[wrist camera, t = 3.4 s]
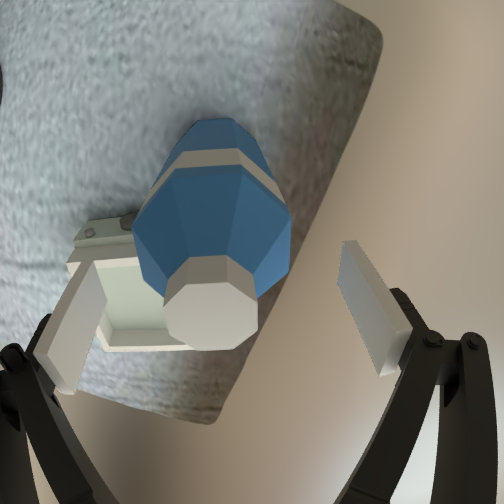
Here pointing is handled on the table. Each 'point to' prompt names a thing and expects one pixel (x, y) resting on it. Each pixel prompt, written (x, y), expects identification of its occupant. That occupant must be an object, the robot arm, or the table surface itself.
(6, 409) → the robot arm
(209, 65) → the table surface
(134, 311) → the open storage box
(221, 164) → the water bottle
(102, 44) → the table surface
